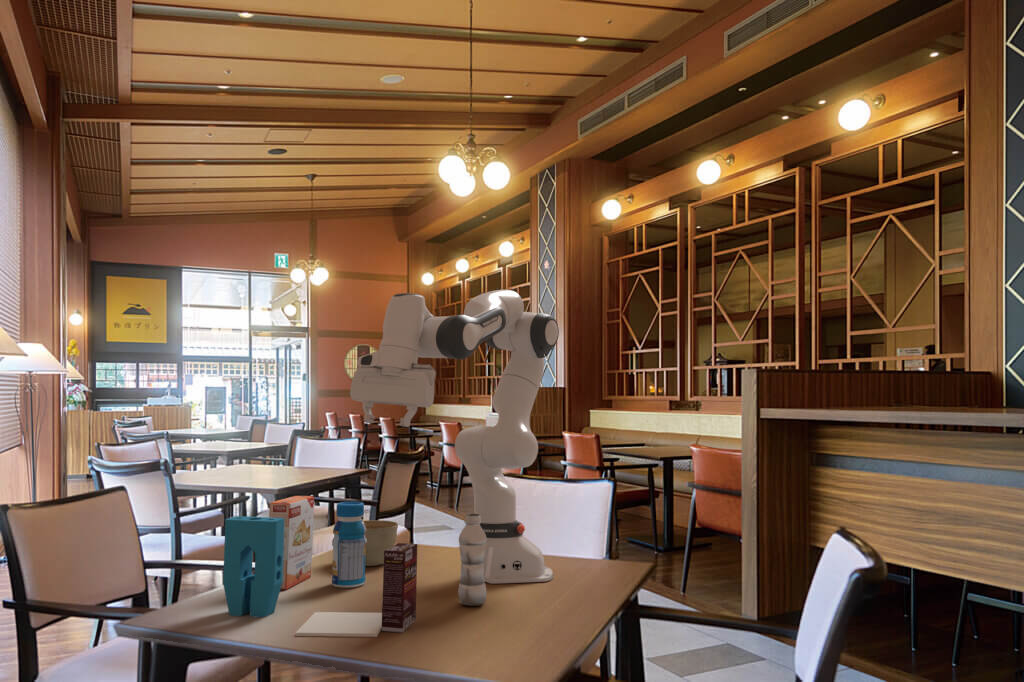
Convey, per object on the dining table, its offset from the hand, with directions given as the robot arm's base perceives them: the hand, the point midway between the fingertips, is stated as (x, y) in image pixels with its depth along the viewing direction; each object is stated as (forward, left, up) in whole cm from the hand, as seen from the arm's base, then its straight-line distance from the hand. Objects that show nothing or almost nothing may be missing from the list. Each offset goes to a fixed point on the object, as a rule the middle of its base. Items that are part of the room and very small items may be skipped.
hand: (386, 424), depth 160 cm
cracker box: (+28, -27, -41) cm, 57 cm away
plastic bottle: (-19, -9, -41) cm, 46 cm away
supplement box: (-5, +7, -41) cm, 42 cm away
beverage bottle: (+13, -26, -41) cm, 50 cm away
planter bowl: (+13, -50, -41) cm, 66 cm away
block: (+28, -1, -41) cm, 50 cm away
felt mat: (+6, +7, -41) cm, 42 cm away
